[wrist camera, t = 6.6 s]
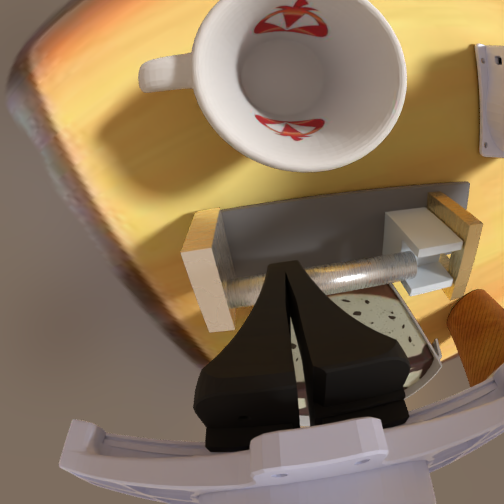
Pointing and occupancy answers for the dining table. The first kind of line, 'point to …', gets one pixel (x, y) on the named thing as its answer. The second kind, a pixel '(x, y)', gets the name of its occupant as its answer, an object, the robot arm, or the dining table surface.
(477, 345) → the disposable coffee cup
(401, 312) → the food container
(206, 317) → the shaft
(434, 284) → the bearing block
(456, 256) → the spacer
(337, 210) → the mat
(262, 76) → the cup
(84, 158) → the dining table surface
